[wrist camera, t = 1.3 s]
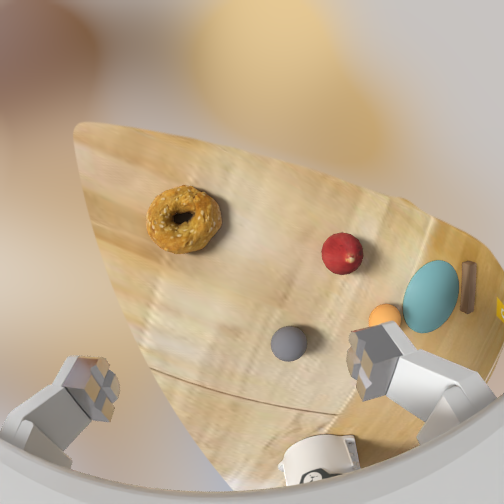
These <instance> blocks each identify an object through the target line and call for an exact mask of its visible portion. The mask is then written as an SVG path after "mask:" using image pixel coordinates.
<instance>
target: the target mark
mask: <svg viewBox="0 0 504 504" xmlns="http://www.w3.org/2000/svg"><path fill="white" fill-rule="evenodd" d="M458 293H459V281H458V277H457V274H456V271H455V270H454V268H453V267H452V266H451V265H450V264H449V263H447V262H445V261H440V260H437V261H432V262H429V263H427V264H426V265H424V266H423V267H421V268H420V269H419V270H418V271H417V272H416V274H415V275H414V276H413V278H412V279H411V281H410V283H409V285H408V287H407V289H406V292H405V296H404V301H403V314H404V318H405V321H406V323H407V325H408V326H409V327H410V328H411V329H412V330H414V331H416V332H418V333H428V332H431V331H433V330H435V329H437V328H439V327H440V326H441V325H442V324H443V323H444V322H445V321H446V320H447V319H448V318H449V316H450V315H451V313H452V311H453V309H454V307H455V305H456V302H457V298H458Z"/></svg>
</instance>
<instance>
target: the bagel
mask: <svg viewBox="0 0 504 504" xmlns="http://www.w3.org/2000/svg"><path fill="white" fill-rule="evenodd" d="M185 212H187V213H191V214H193V216H192V218H191V219H189V221H188V222H187V221H185V222H184V223H182V224H179V223H175V222H174V218H173V217H174V216H175V214H176V213H178V214H182V213H185ZM146 218H147V219H146V226H147V231H148V234H149V235H150V237H151V239H152V240H153V241H154V243H156V244H157V245H158V246H159V247H160V248H162V249H163V250H165V251H168V252H172V253H174V254H184V253H189V252H192V251H197V250H200V249H202V248H204V247H205V246H206V245H207V243H208V242H209V241H210V239H211V238H212V237H213V236H214V235H215V234H216V232H217V231H218V230H219V229H220V227H221V225H222V218H221V212H220V209H219V205H218V204H217V202H216V201H215V200H214V199H213V198H211V197H210V196H208V195H207V194H206V193H205V192H200V191H199V190H197V189H195V188H194V187H193V186H186V185H182V186H180V187H175V188H172V189H170V190H166V191H165V192H163V193H162V194H159V195H158V196H157V197H156V198H155V199H154V200H153V202H152V203H151V205H150V207H149V209H148V212H147V215H146Z"/></svg>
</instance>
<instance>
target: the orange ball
mask: <svg viewBox="0 0 504 504" xmlns="http://www.w3.org/2000/svg"><path fill="white" fill-rule="evenodd" d="M388 321H394V322H396V323H397V325H398V326H399V327H400V325H401V315H400V312H399V311H398V309H397V308H396V307H394V306H393V305H390V304H382V305H379V306H377V307H376V308H375V309H374V310H373V311H372V313H371V314H370V317H369V327H371V326H374V325H379V324H381V323H385V322H388Z"/></svg>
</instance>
